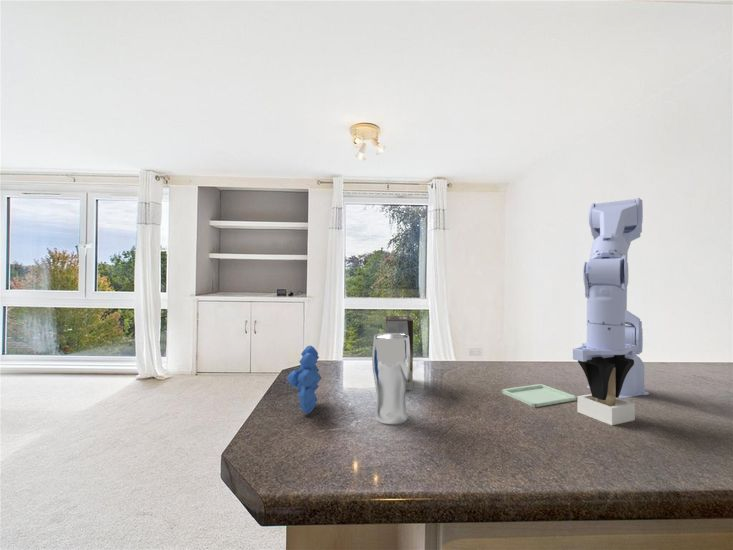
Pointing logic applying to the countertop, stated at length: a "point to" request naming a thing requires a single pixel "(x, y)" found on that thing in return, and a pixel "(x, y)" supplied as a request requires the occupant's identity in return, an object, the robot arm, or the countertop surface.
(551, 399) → the tray
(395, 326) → the coffee box
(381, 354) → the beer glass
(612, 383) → the dowel
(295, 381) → the grapes
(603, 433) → the countertop surface
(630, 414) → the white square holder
